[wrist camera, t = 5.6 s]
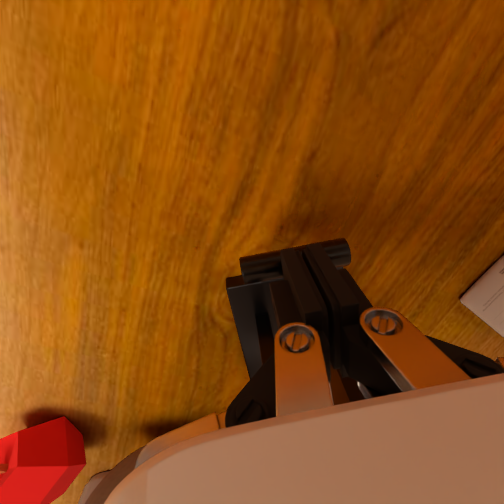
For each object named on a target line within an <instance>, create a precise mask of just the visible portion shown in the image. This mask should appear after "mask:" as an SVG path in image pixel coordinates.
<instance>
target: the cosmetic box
mask: <svg viewBox="0 0 504 504" xmlns="http://www.w3.org/2000/svg"><path fill="white" fill-rule="evenodd" d="M460 302H461V303H463V304H464V305H465V306H466V307H467V308H469V309H470V310H471V311H472V312H473V313H475V314H476V315H477V316H478V317H479V318H481V319H482V320H483V321H484V322H486V323H487V324H488V325H489V326H490V327H492V328H493V329H494V330H495V331H496V332H498V333H499V334H500V335H501V336H502V337H504V255H503V256H502V257H501V258H500V259H499V260H498V261H497V262H496V263H495V264H494V265H493V266H492V267H491V268H490V269H489V270H488V271H487V272H486V273H485V274H484V275H483V276H482V277H481V278H480V279H479V280H478V281H477V282H476V283H475V284H474V285H473V286H472V287H471V288H470V289H469V290H468V291H467V292H466V293H465V294H464V295H463V296H462V297H461V299H460Z"/></svg>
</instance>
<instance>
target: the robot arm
mask: <svg viewBox="0 0 504 504" xmlns="http://www.w3.org/2000/svg"><path fill="white" fill-rule="evenodd" d="M280 254H281V262H282V270H283V277H284V280H282V281H276V282H271V283H269V286H270V292H271V298H272V303H273V308H274V313H275V318H276V322H277V326H278V331H277V333H276V335H275V340H274V342H275V351H274V352H273V353H272V354H271V356H270V357H269V358H268V359H267V360H266V362H265V363H264V364H263V365H262V366H261V368H260V369H259V370H258V371H257V372H256V374H255V375H254V376H253V377H252V378H251V380H250V381H249V382H248V383H247V384H246V386H245V387H244V388H243V389H242V390H241V392H240V393H239V394H238V395H237V396H236V398H235V399H234V400H233V401H232V402H231V404H230V406H229V407H228V409H227V410H226V411H224V412H222V413H220V414H216V412H213V413H211V414H209V415H207V416H204V417H202V418H200V419H197V420H195V421H193V422H191V423H188V424H186V425H184V426H182V427H179V428H177V429H175V430H172V431H170V432H168V433H166V434H163V435H161V436H159V437H156V438H155V439H153V440H152V441H150V442H149V443H148V444H147V445H146V446H145V447H144V448H143V449H142V450H141V452H140V454H139V456H138V458H137V460H136V466H135V470H133V471H132V472H131V473H130V474H129V475H127V476H126V477H125V478H124V479H123V480H122V481H121V482H120V483H119V484H118V485H117V486H116V487H115V488H114V490H113V491H112V492H111V493H110V495H109V497H108V498H107V500H106V501H105V503H104V504H504V357H497V359H496V361H493V360H492V359H490V358H488V357H486V356H483V355H481V354H478V353H476V352H473V351H470V350H467V349H464V348H461V347H458V346H455V345H452V344H449V343H447V342H444V341H441V340H438V339H435V338H432V337H429V336H426V335H424V334H423V333H422V332H421V331H419V330H418V329H417V328H416V327H415V326H414V325H413V324H412V323H411V322H410V321H409V320H408V319H407V318H405V317H404V316H403V315H402V314H401V313H399V312H398V311H396V310H393V309H391V308H387V307H373V306H372V305H371V303H370V302H369V300H368V299H367V298H366V296H365V295H364V293H363V292H362V291H361V289H360V288H359V286H358V285H357V284H356V282H355V281H354V279H353V278H352V277H351V275H350V274H349V272H348V271H347V270H346V269H339V270H337V268H336V267H335V265H334V264H333V262H332V261H331V259H330V258H329V256H328V255H327V253H326V252H325V250H324V249H323V247H322V246H321V244H320V243H315V244H310V245H306V249H302V256H301V254H300V252H299V250H296V251H295V250H294V248H289V249H283V250H280ZM330 362H331V364H332V367H333V369H334V370H335V369H339V371H340V374H341V376H342V378H343V377H350V378H352V379H354V380H356V381H357V384H358V387H359V389H360V391H361V392H362V394H363V395H364V397H365V400H360V401H355V402H349V403H344V404H339V405H334V406H333V402H332V397H331V392H330V387H329V383H330V381H331V370H330Z"/></svg>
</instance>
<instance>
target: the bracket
mask: <svg viewBox="0 0 504 504" xmlns="http://www.w3.org/2000/svg"><path fill="white" fill-rule="evenodd" d="M336 268H337V270H339V269H343V266H342V267H336ZM282 280H284V278H279V279H274V280H269V281H263V282H258V283H253V284H248V285H245V284H244V282H243V278H242V276H237V277H232V278H227V279H226V290H227V294H228V298H229V301H230V305H231V309H232V313H233V317H234V320H235V324H236V328H237V332H238V335H239V339H240V343H241V347H242V351H243V354H244V358H245V362H246V366H247V370H248V373H249V377H250V380H251V378H252V377H253V376H254V375H255V374H256V372H257V371H258V370H259V369H260V368H261V366H262V365H263V364H264V363H265V362H266V360H267V359H268V358H269V357H270V356H271V354H272V353H273V352H274V351H275V342H274V340H275V335H276V333H277V331H278V326H277V322H276V318H275V313H274V308H273V303H272V298H271V292H270V286H269V283H271V282H276V281H282ZM330 370H331V381H330V386H331V392H332V397H333V402H334V405H339V404H344V403H349V402H355V401H360V400H365V397H364V395H363V394H362V392H361V391H360V389H359V387H358V384H357V381H356V380H354V379H352V378H350V377H343V378H342V376H341V374H340V371H339V369H335V370H334V369H333V367H332V364H331V362H330Z"/></svg>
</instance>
